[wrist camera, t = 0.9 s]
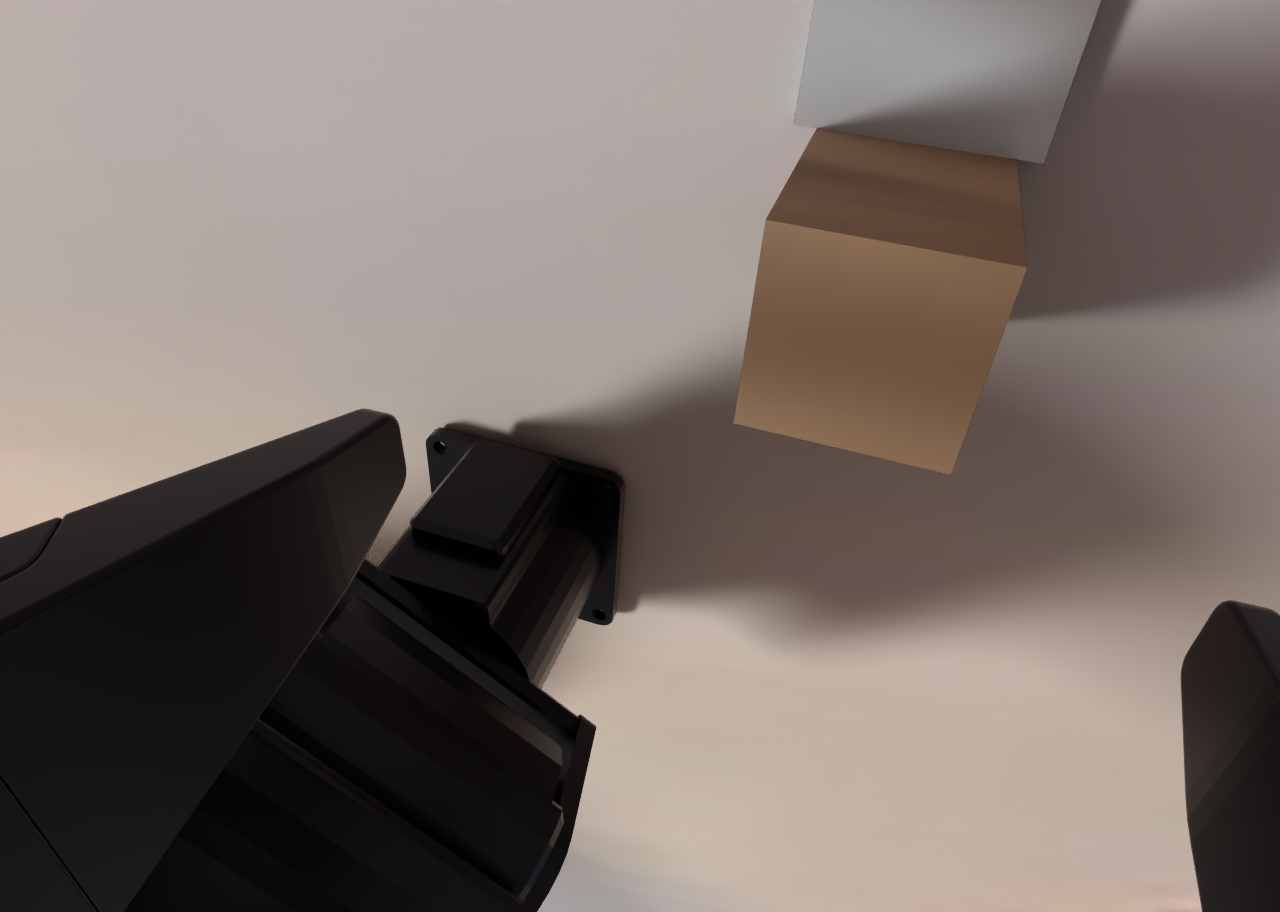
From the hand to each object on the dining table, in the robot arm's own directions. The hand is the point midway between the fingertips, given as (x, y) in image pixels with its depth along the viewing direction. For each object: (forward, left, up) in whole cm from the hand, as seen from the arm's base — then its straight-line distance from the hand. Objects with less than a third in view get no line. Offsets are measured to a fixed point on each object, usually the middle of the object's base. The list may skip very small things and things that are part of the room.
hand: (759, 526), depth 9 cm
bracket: (+3, -1, -12) cm, 12 cm away
